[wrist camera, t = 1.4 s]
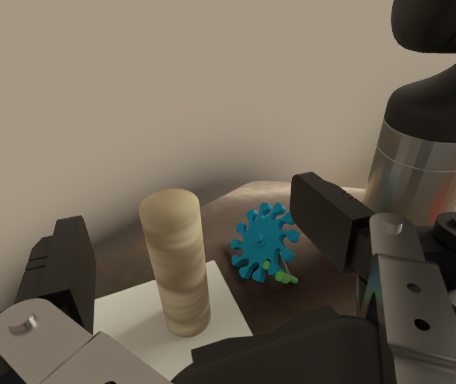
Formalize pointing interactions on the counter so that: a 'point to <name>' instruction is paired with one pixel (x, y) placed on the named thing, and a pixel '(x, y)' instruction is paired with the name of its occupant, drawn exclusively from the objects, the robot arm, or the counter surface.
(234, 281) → the counter surface
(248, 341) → the robot arm
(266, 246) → the gear
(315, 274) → the counter surface
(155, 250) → the peg
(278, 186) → the counter surface
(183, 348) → the white peg hole board
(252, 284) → the counter surface
